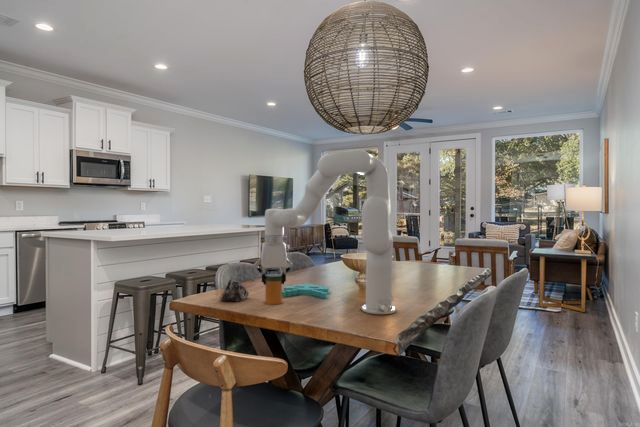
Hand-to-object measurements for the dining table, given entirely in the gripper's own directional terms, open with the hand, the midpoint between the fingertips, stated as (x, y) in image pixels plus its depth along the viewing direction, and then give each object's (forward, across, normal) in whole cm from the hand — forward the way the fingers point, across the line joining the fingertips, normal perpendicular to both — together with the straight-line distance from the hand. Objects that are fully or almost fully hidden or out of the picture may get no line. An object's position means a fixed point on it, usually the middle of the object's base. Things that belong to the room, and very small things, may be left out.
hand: (273, 283), depth 165 cm
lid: (-3, 0, 0) cm, 3 cm away
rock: (+8, +16, -8) cm, 19 cm away
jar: (+8, 0, 0) cm, 8 cm away
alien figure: (+8, -16, -16) cm, 24 cm away
